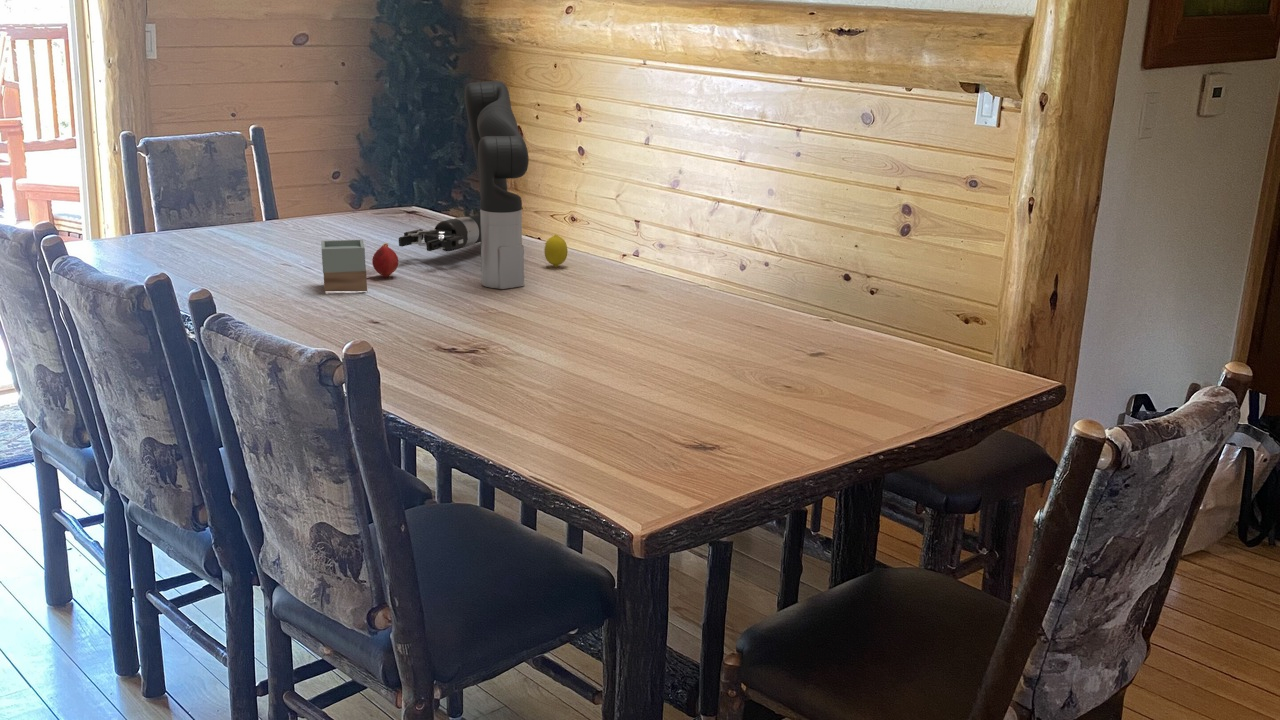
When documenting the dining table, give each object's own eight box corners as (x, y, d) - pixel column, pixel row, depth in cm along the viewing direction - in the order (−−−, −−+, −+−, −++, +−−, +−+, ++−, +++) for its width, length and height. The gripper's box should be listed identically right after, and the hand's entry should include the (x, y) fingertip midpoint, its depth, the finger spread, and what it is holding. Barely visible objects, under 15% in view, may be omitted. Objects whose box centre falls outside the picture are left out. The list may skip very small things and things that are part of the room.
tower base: (367, 293, 254) (366, 271, 253) (324, 295, 252) (323, 272, 251) (366, 284, 263) (365, 262, 261) (325, 285, 260) (323, 263, 259)
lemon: (569, 265, 284) (569, 233, 282) (565, 270, 279) (565, 237, 277) (546, 264, 285) (546, 232, 283) (542, 269, 280) (542, 236, 277)
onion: (384, 281, 264) (383, 247, 262) (367, 277, 268) (366, 243, 265) (404, 277, 269) (402, 243, 266) (387, 273, 272) (385, 239, 270)
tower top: (365, 271, 253) (364, 247, 251) (323, 272, 251) (321, 249, 249) (364, 262, 261) (362, 239, 260) (322, 263, 259) (321, 240, 257)
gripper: (433, 215, 290) (389, 225, 277) (479, 221, 284) (436, 232, 270) (434, 244, 293) (391, 256, 279) (480, 252, 286) (437, 263, 272)
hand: (413, 244), depth 275 cm, fingers open, 8 cm apart
